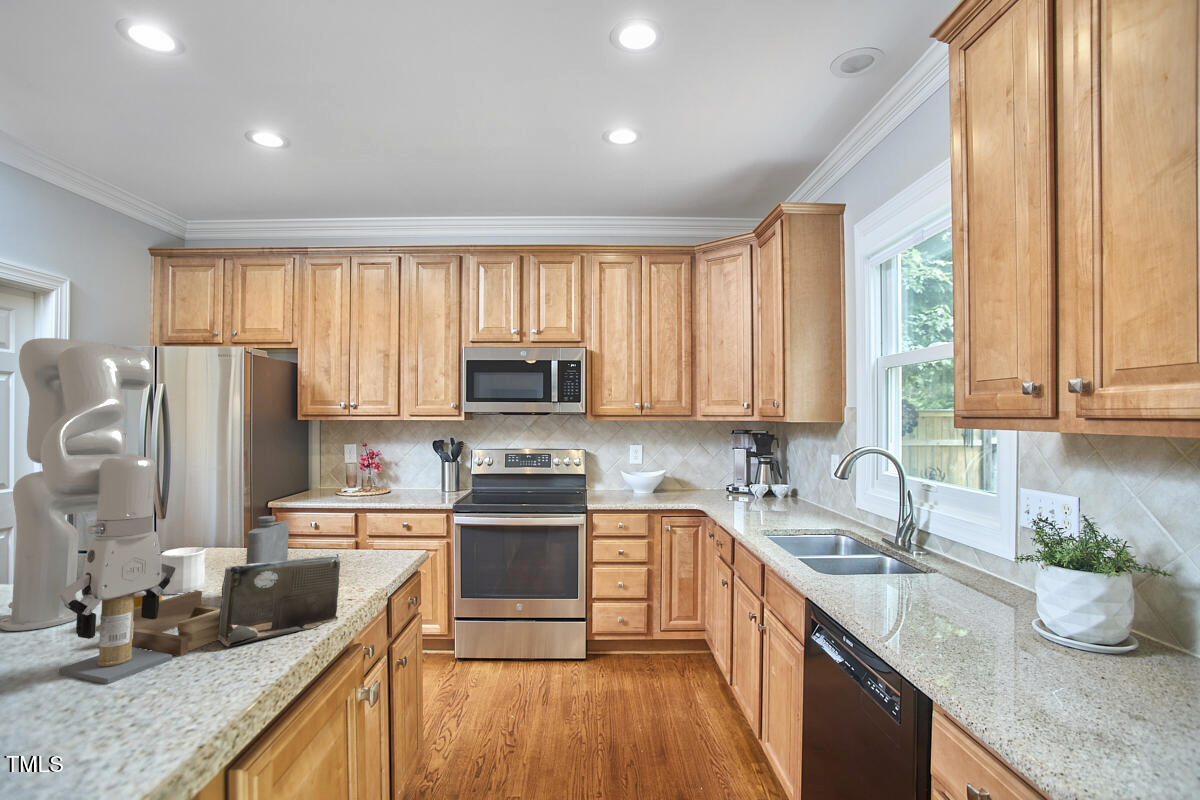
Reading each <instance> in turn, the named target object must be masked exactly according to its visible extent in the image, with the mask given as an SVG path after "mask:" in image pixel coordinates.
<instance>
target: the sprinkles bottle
mask: <svg viewBox="0 0 1200 800" xmlns="http://www.w3.org/2000/svg"><path fill="white" fill-rule="evenodd" d="M134 594H135V593H134ZM134 594H130V595H126V596H122V597H118V598H114V599H109V600H101V613H100V623H99V625H100V628H99V641H98V645H99V653H98V655H99V661H98V665H99V666H115V665H119V664H122V663H125V662H127V661H129V660H130V659H131V658H132V654H131V652H132V648H133V647H132V639H133V623H134V622H133V613H134V610H133V609H134Z"/></svg>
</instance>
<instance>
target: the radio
mask: <svg viewBox="0 0 1200 800" xmlns="http://www.w3.org/2000/svg"><path fill="white" fill-rule="evenodd" d="M340 569H341V560H340V557H339V554H328V555H323V556H316V557H315V556H314V557H308V558H298V559H289V560H288V559H287V561H279V562H270V563H255V564H240V565H228V566H226V567H225V569H224V577H223V581H222V585H221V601H220V602H221V603H220V607H219V608H220V612H219V634H218V636H217V639H219V640H218V641H220V642H221V643H222V644H223V645H224V646H226V647H233V646H238V645H241V644H246V643H247V644H248V643H251V642H255V641H260V640H263V639H264V640H265V639H269V638H274V637H279V636H282V635H288V634H291V633H296V632H300V631H305V630H309V629H314V628H317V627H320V626H321V625H322V624H325V623H330V622H332V621H333V622H334V621H337V620H338V619H339V616H337V613H338V596H339V589H340V588H339V587H340V585H339V584H340V572H341V571H340Z"/></svg>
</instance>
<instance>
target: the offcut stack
mask: <svg viewBox="0 0 1200 800" xmlns="http://www.w3.org/2000/svg"><path fill="white" fill-rule="evenodd" d="M219 612H220V609H219V610H216V611H212V612H209V613H206V614H203V615H200V616H197V617H194V618H191V619H188V620H184V621H181V622H178V627H177V630H176V631H177V632H178V633H177V635H179V636H185V637H188V650H187V652H190V651H193V650H195V649H197V648H198V649H199V648H201V647H203V646H206V645H209V644H211V643H214V642H217V641H219V640H218V639H217V636H218V634H219ZM216 640H217V641H216ZM213 641H214V642H213ZM208 643H209V644H208ZM205 644H206V645H205ZM192 649H193V650H192ZM189 650H190V651H189Z"/></svg>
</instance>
